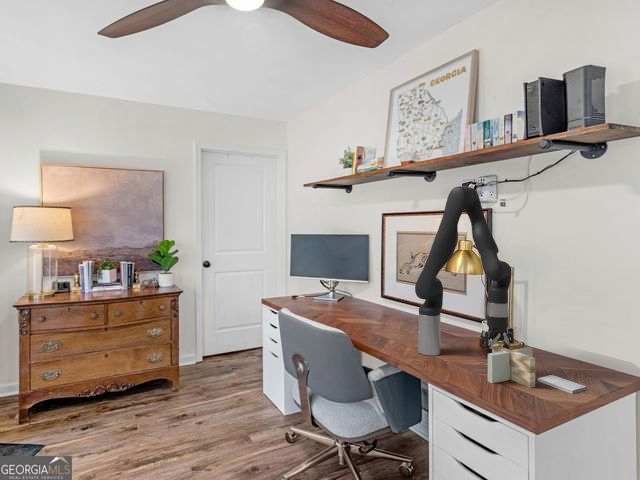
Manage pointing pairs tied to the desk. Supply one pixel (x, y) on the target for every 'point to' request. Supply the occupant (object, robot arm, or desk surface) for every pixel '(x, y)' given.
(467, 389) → the desk surface
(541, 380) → the hard drive
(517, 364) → the pale wooden plank
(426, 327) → the robot arm
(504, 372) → the slotted plate
